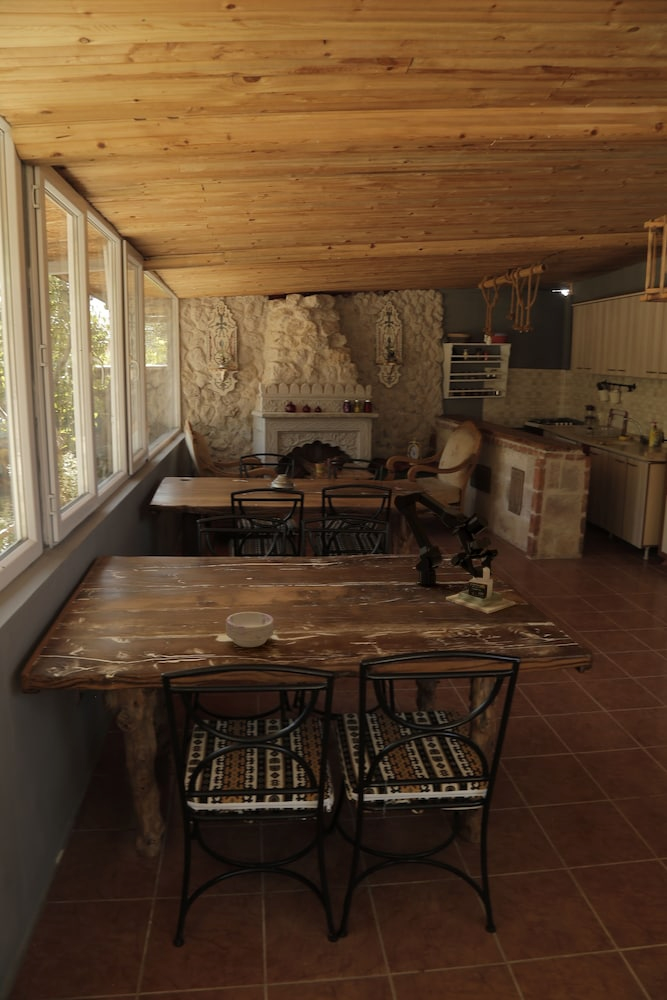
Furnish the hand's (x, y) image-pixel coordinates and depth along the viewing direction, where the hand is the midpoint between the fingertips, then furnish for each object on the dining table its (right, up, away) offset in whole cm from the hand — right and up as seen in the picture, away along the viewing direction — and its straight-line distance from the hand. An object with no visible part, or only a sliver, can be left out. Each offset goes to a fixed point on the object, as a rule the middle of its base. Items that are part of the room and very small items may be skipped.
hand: (483, 576), depth 283 cm
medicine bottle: (-1, -8, +3) cm, 9 cm away
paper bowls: (-83, -17, -39) cm, 93 cm away
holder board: (-1, -10, +3) cm, 10 cm away
